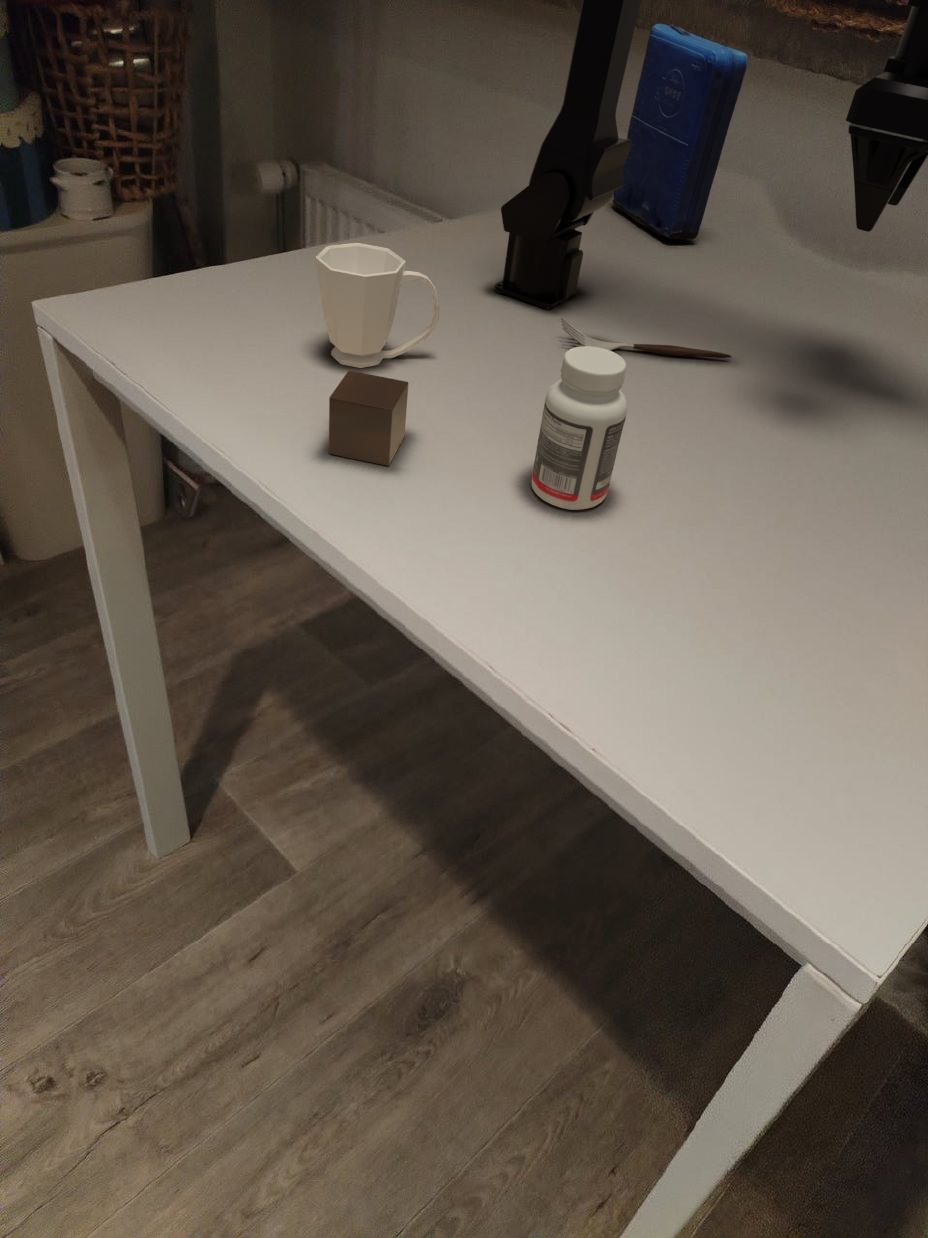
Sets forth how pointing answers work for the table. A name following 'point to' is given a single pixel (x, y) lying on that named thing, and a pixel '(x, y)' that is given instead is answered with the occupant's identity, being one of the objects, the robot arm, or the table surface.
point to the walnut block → (367, 417)
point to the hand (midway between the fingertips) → (877, 216)
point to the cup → (364, 301)
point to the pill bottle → (581, 429)
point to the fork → (639, 345)
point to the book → (678, 130)
